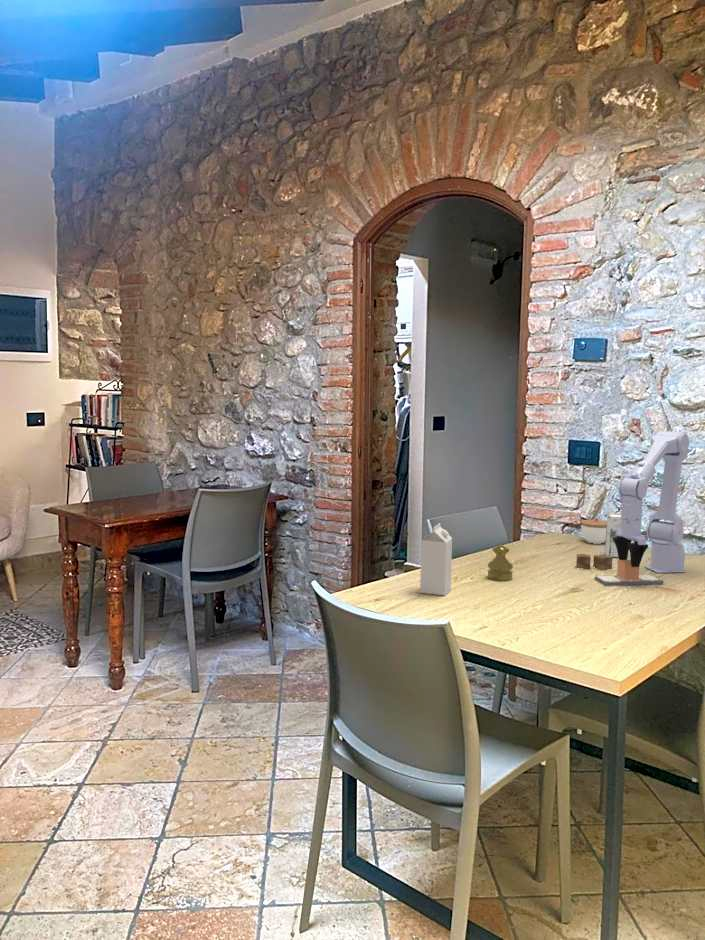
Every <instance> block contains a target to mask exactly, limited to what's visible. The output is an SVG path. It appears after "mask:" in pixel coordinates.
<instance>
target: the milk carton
mask: <svg viewBox="0 0 705 940" xmlns="http://www.w3.org/2000/svg"><path fill="white" fill-rule="evenodd" d="M441 525H442V524H441V522H439V523H438V524H436V525H435V526H433V531H432V532H430V533H429V534H428V535H427V536H425V537H424V538H422V540H421V541H420V542H421V543H420V581H419V582H420V585H419V588H420V589H419V592H420V594H428V595H434V596H435V595H437V596H446V595H447V594H448V593H449V592H450V591H451V589H452V561H453V560H452V558H453V557H452V555H453V548H452V547H453V537H452V536H451V535H450V534H449V532H448V531H447V530H446V529H444V528H443V527H441Z"/></svg>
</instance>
